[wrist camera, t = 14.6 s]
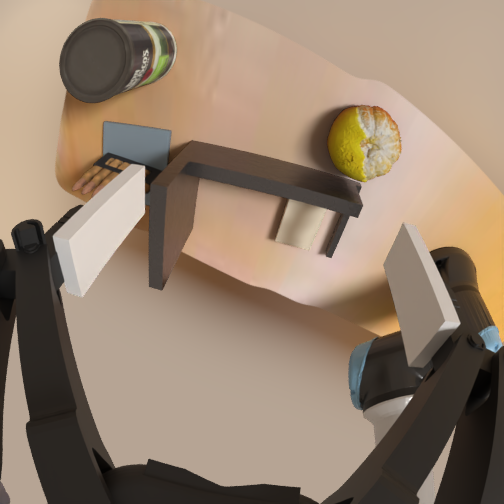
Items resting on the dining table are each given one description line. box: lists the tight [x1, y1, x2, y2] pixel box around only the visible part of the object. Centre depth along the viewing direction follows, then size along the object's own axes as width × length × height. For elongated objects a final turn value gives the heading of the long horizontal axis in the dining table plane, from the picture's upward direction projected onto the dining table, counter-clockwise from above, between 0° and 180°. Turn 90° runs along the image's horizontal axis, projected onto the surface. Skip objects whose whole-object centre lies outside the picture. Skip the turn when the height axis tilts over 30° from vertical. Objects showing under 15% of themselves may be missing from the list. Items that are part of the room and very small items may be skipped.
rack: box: [149, 140, 363, 290], centre depth 45 cm, size 26×16×16 cm, turn 78°
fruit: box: [327, 105, 401, 182], centre depth 40 cm, size 11×10×8 cm
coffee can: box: [59, 18, 177, 103], centre depth 32 cm, size 10×10×14 cm
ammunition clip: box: [72, 152, 162, 198], centre depth 44 cm, size 11×2×12 cm, turn 69°
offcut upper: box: [275, 199, 327, 251], centre depth 51 cm, size 6×10×1 cm, turn 167°
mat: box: [103, 121, 171, 206], centre depth 49 cm, size 12×14×1 cm
